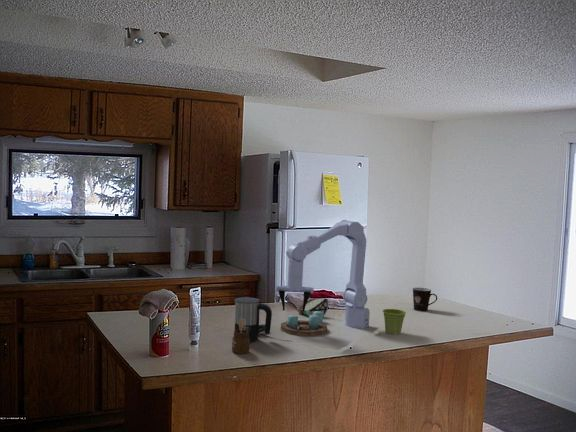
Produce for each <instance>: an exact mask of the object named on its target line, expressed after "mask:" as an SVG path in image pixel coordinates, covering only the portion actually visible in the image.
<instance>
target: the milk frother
mask: <svg viewBox="0 0 576 432" xmlns="http://www.w3.org/2000/svg"><path fill="white" fill-rule="evenodd" d="M259 302H260V299H259V298H255V297H237V298H234V306H235V307H234V330H233V332H234V331H235V330H240V329H241V328H240V329H239V319H240V320H241V319H244V320H246V321H244V326H246V327H244V328H242V330H244V329H245V330H247V331H248V332H249V339H250V343H253V342H257V341H258V340H259V334H260V333H262V332H264V334H265V335H269V334H270V333H271V326H272V325H271V324H272V316H273V313H272V312H273V311H272V309H271V307H270V306H269V305H268V304H266V303H259ZM260 310H263V311H264V312H265V324H260ZM242 323H243V321H242ZM240 325H241V321H240Z"/></svg>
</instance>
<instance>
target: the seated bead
mask: <svg viewBox="0 0 576 432" xmlns="http://www.w3.org/2000/svg"><path fill="white" fill-rule="evenodd" d="M308 321H309V329H310V330H318V329H319V316H317V315H310V316H308Z"/></svg>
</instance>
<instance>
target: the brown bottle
mask: <svg viewBox="0 0 576 432" xmlns="http://www.w3.org/2000/svg"><path fill="white" fill-rule="evenodd" d="M240 321H241V325H240ZM242 321H243V323H242ZM244 321H246V320H244V319H241V320H240V319H239V329H240V328H241V329H240V330H235V329H234V330H235V331H234V330H233V336H232V343H231V350H232V351H231V352H232V353H234V354H238V355H243V354H248V353H249V352H250V343H251V342H250V339H249V332H248V331H247V330H245V329H244V330H242V328H244V327H246V326H244Z"/></svg>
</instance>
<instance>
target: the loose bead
mask: <svg viewBox="0 0 576 432" xmlns="http://www.w3.org/2000/svg"><path fill="white" fill-rule="evenodd" d="M313 315H317V316H319V323H322V324H323V319H324V316H323V312H320V311H314V312H313Z"/></svg>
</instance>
